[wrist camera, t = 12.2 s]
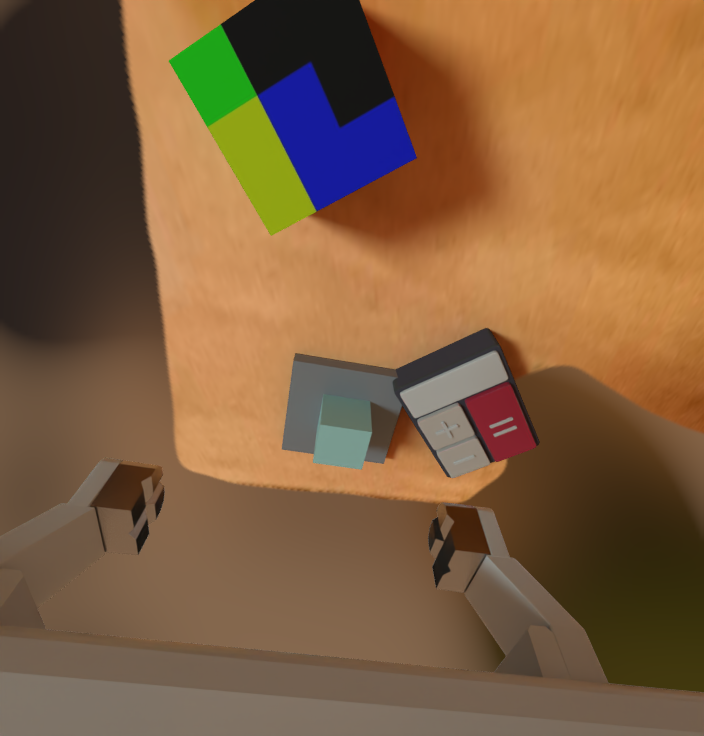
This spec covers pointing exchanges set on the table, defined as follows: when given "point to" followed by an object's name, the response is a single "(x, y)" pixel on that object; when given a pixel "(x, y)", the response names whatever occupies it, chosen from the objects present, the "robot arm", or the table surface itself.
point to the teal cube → (343, 432)
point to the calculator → (466, 404)
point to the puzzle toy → (296, 104)
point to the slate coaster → (341, 381)
